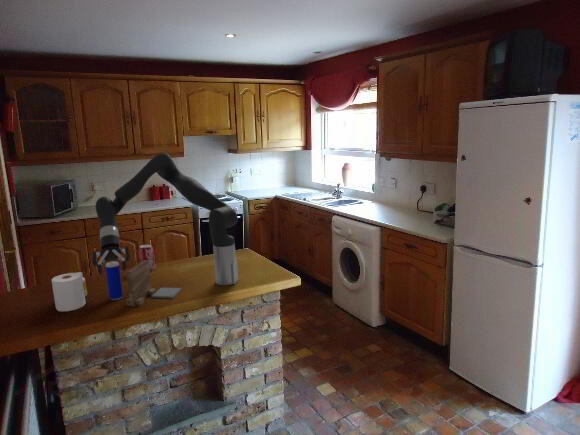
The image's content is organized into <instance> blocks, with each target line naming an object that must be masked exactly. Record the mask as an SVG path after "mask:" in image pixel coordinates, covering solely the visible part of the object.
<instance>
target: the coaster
mask: <svg viewBox="0 0 580 435" xmlns="http://www.w3.org/2000/svg"><path fill="white" fill-rule="evenodd" d="M181 291H182V287H160V288H159V289H158V290H156V292H155V293H154V294H153V295H152V296H151V298H153V299H154V298H155V299H174V298H175V297H176V296H177V295H178V294H179V293H180V292H181Z"/></svg>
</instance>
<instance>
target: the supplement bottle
mask: <svg viewBox="0 0 580 435" xmlns="http://www.w3.org/2000/svg"><path fill="white" fill-rule="evenodd" d="M76 273H79V274H81V275H82V281H83V288H84V295H85V297H86V296H87V295H88V290H87V283H86V279H85V277H83V272H81V271H80V272H79V271H78V272H76Z"/></svg>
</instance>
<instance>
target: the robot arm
mask: <svg viewBox="0 0 580 435" xmlns="http://www.w3.org/2000/svg"><path fill="white" fill-rule="evenodd" d="M154 174H157V175H158V176H159V177H160V178H161V179H162V180H165V181H166V182H167V183H169V184H170V185H172V187H174V188H175V189H176V190H177V191H178V193H180V195H182V196H183V197H184V198H185V199H186V200H187V201H188V202H189V203H191V204H193V205H195V206H197V207H200V208H203V209H205V210H207V211H209V215H208V224H209V226H208V227H209V233H210V238H211V241H212V247H213V248H212V249H213V261H214V274H215V284H216V285H219V286H231V285H236V283H237V282H238V281H239V270H238V269H239V268H238V259H237V258H236V246H235V245H236V243H235V241H236V240H235V237H234V236H233V235H229V234H227V229H228V228H232V227H233V226H235V225H236V224H237V223H238V221H239V219H238V218H239V217H238V213H237V212H236V211H235V209H234V208H233V207H232V206H230V205H228V204H227V203H226V202H224V201H222V200H221V199H220V198H218V197H217V196H215V195H214V194H213V193H212V192H211V191H209V190H208V189H207V188H206V187H205V186H203V184H202V183H200V182H199V181H198V180H196V179H195V178H193V177H192V176H187V175H186V174H184V173H183V172H182V171H181V170H180V169H179V168H178V167H177V165H176V162H174V160H173V158H172V157H171V156H170V154H168V153H167V152H160V153H157V154H156V155H154V157H152V158H151V159H150V160H149V161H148V162H147V163H146V164H145V165H144V166H143V167H142V168H141V169H140V170H139V171H138V172H137V173H136V174H135V175H134V176H133V177H132V178H130V179H129V181H127V182H126V183H124V184H122V186H120V187H119V188H117V189H116V190H115V191H114V196H115V198H114V199H113V200H112V199H111V198H110V197H107V196H101V197H99V198H98V199H97V200H96V202H95V211H96V215H97V217H98V218H97V219H98V222H99V243H100V251H96V250H93V251H92V265H93V267H94V268H96V267H97V269H98V271H97V272H98V274H99V275H100V276H103V275H104V274H103V265H104V264H106V263H107V261H108V262H112V261H116V260H118V262H121V264H122V265H121V266H122V272H126V271H127V263H129V262H131V256H130V253H129V252H130V250H129V247H128V246H125V247H124V248H121V241H120V233H119V229H118V221H117V218H116V217H115V216H117V215H118V214H119V213H120V212H121V211H122V209H123V208H124V207H125V206H126V205H127V203H128V202H129V201H131V200H133V199H134V198H135V197H136V196H137V195H139V193H140V192H142V190H143V189H144V187H145V185H146V183H147V181H149V179H150V178H151V177H152V176H153V175H154ZM122 253H123V254H125V257H126V258H125V257H123V255H121V254H122ZM99 256H101V257H100V258H99ZM98 258H99V261H98Z"/></svg>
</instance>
